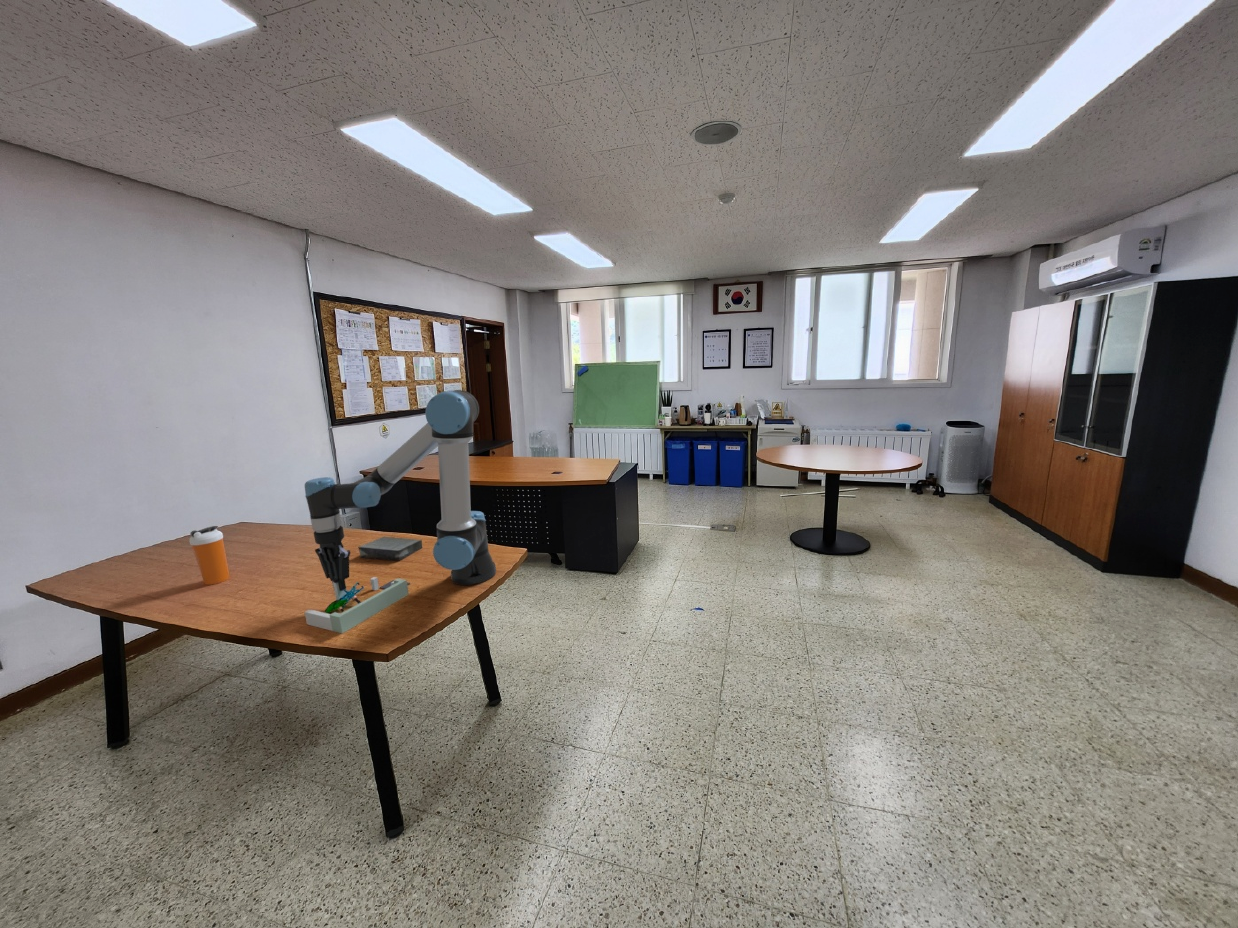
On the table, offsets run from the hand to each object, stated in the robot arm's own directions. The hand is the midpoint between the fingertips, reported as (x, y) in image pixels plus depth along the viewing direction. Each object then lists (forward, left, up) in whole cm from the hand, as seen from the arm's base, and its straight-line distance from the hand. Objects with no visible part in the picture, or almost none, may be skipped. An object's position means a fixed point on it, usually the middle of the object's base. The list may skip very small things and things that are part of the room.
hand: (342, 598), depth 139 cm
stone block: (+20, -36, -3) cm, 42 cm away
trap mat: (-6, -14, -2) cm, 16 cm away
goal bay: (-13, 0, -2) cm, 14 cm away
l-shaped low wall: (-6, 0, -2) cm, 6 cm away
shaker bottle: (+65, +2, -2) cm, 65 cm away
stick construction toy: (-3, 0, -2) cm, 4 cm away
